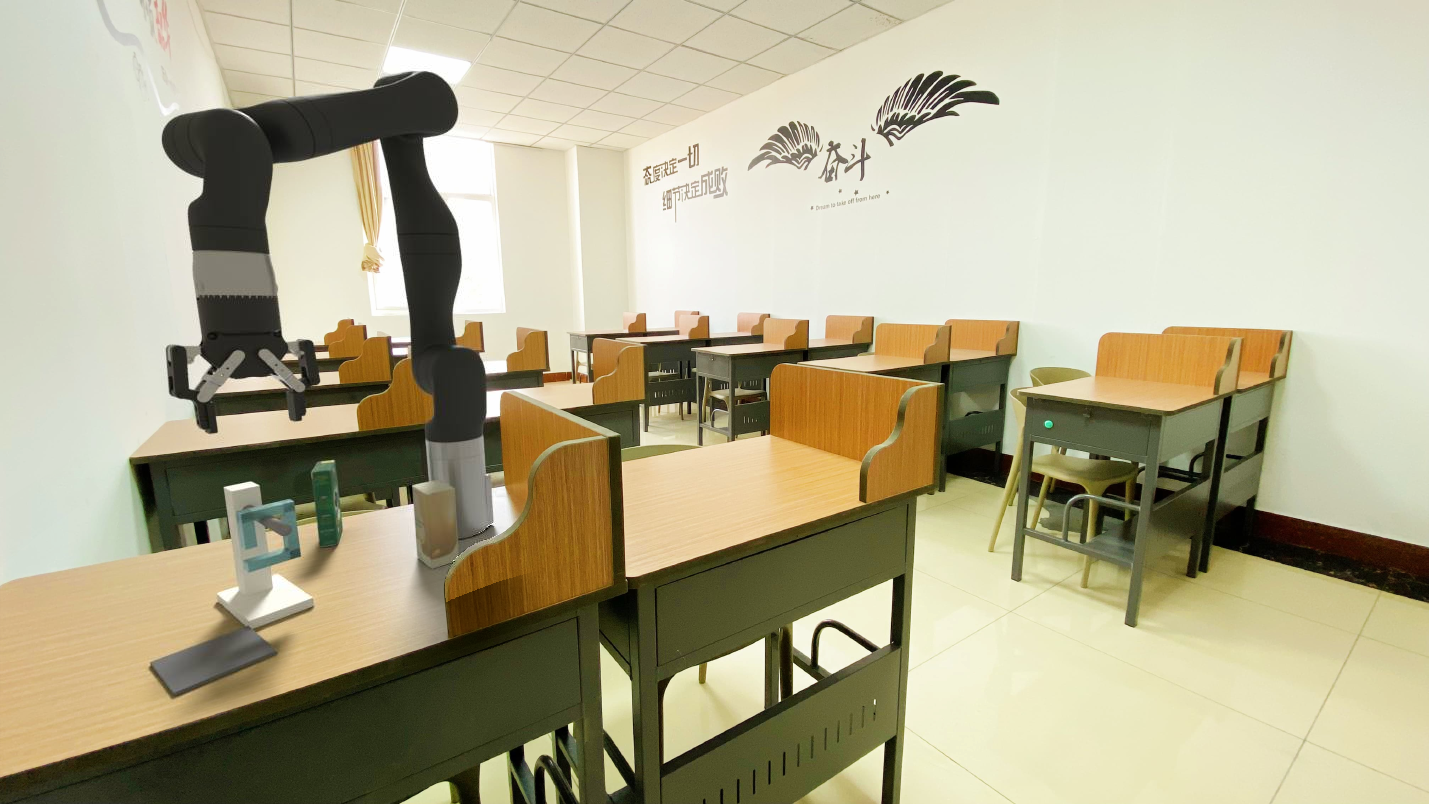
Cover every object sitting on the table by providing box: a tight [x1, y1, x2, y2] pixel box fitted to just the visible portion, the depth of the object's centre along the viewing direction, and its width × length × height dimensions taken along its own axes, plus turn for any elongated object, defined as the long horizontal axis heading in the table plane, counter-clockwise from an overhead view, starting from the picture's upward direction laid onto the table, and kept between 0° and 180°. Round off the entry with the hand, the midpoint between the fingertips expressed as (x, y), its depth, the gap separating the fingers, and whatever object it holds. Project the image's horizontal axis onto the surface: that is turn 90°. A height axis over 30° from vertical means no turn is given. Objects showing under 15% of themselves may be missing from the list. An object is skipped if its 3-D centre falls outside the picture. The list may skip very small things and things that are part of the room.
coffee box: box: [310, 459, 343, 548], centre depth 98 cm, size 8×3×13 cm, turn 28°
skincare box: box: [411, 480, 460, 570], centre depth 90 cm, size 6×4×12 cm
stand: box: [216, 481, 315, 630], centre depth 75 cm, size 7×16×16 cm, turn 55°
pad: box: [149, 626, 278, 697], centre depth 66 cm, size 9×9×1 cm
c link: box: [236, 498, 302, 573], centre depth 73 cm, size 6×2×8 cm, turn 145°
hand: (255, 426), depth 71 cm, fingers open, 8 cm apart
